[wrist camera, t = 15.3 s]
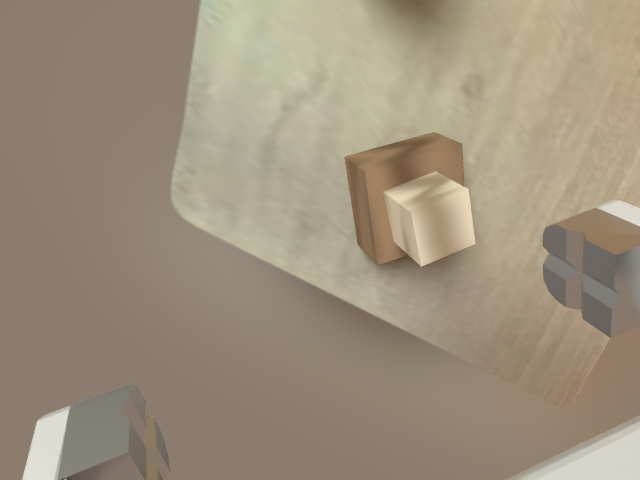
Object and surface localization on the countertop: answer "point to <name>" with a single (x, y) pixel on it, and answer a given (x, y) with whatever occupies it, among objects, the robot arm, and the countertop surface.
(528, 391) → the countertop surface
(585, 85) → the countertop surface
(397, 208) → the birch cube
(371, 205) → the walnut block
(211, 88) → the countertop surface
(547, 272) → the robot arm
